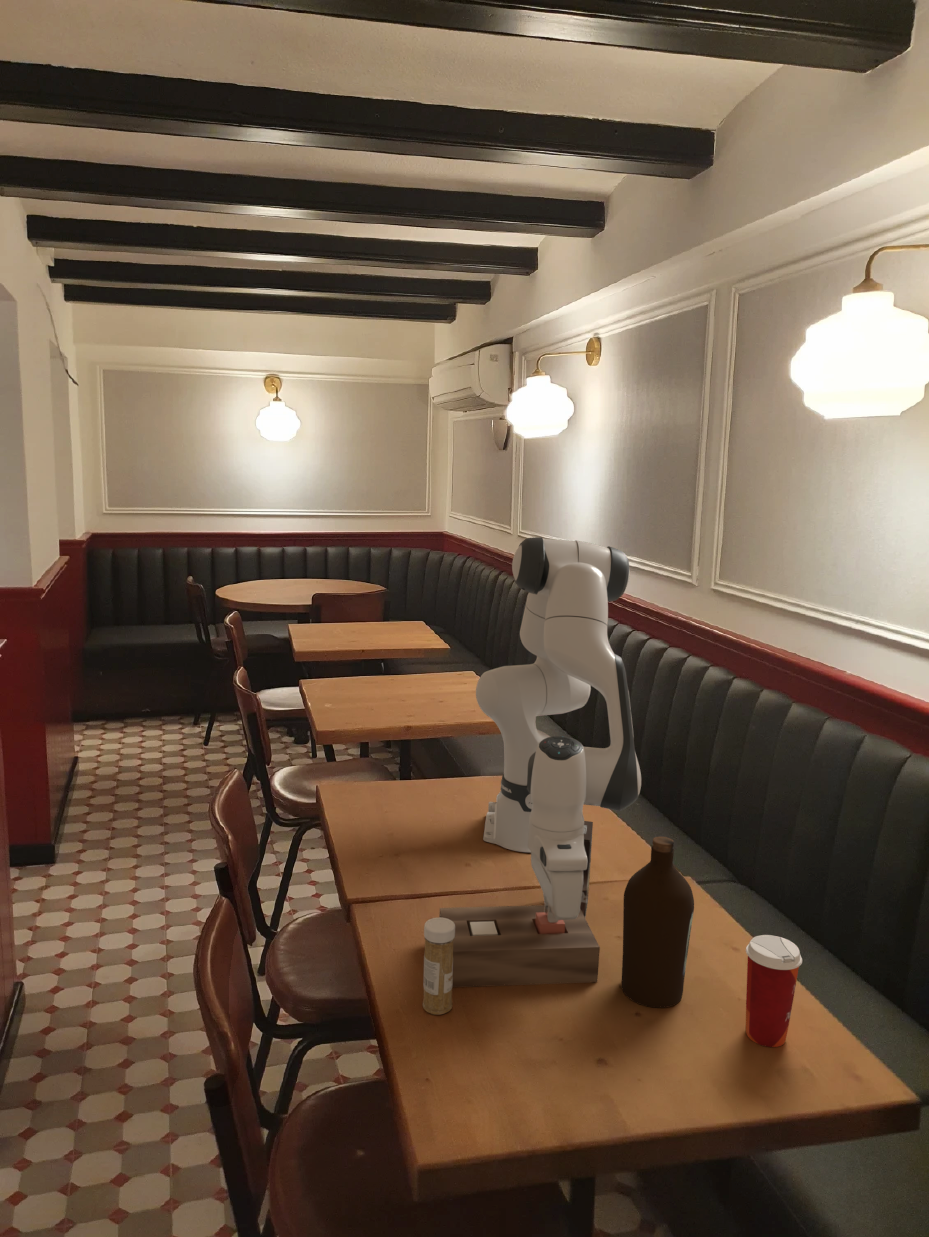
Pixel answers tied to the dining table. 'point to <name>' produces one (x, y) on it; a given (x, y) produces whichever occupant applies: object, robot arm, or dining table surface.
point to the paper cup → (770, 988)
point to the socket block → (520, 949)
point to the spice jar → (438, 965)
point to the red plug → (548, 925)
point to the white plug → (482, 928)
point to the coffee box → (586, 873)
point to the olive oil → (656, 930)
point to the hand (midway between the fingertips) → (551, 918)
